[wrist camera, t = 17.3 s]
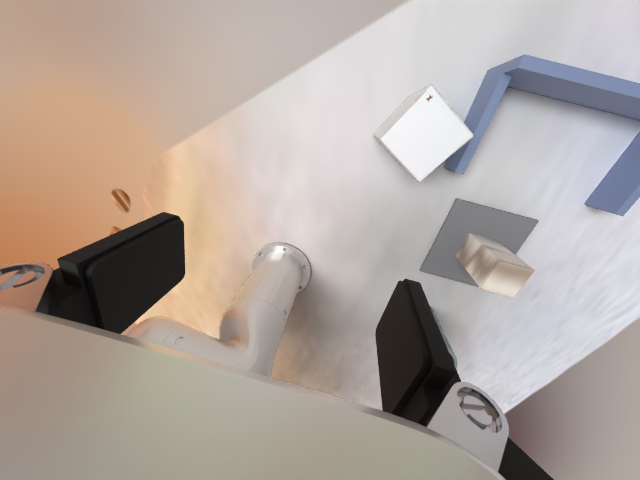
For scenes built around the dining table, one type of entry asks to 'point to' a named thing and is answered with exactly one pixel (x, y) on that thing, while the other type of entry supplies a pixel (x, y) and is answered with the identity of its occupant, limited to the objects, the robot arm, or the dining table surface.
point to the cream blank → (493, 265)
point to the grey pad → (476, 221)
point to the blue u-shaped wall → (571, 86)
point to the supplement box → (423, 132)
